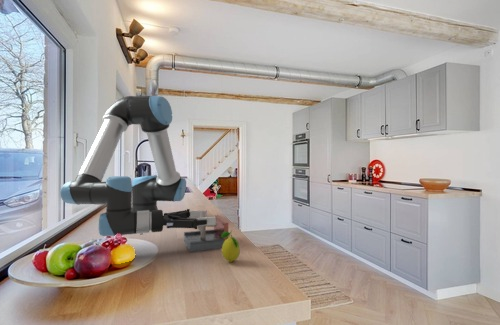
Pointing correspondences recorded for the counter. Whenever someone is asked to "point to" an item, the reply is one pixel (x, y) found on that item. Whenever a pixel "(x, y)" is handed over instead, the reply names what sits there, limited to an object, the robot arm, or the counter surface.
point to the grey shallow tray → (207, 237)
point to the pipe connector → (203, 228)
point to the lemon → (230, 247)
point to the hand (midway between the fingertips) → (210, 216)
